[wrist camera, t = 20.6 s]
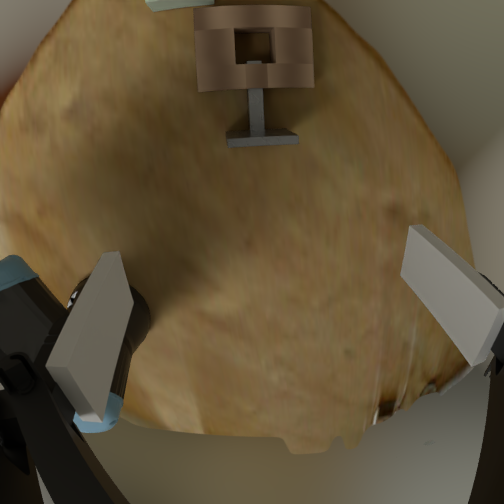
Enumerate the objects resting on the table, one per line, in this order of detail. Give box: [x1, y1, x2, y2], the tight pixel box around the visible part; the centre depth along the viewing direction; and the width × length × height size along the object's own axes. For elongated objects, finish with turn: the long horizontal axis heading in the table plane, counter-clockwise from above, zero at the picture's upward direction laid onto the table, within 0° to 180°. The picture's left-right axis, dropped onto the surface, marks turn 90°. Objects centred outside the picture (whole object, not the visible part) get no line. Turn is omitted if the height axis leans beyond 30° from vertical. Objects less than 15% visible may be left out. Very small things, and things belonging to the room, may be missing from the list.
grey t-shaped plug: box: [226, 61, 299, 148], centre depth 36 cm, size 8×10×7 cm
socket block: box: [193, 5, 314, 92], centre depth 34 cm, size 14×11×4 cm
